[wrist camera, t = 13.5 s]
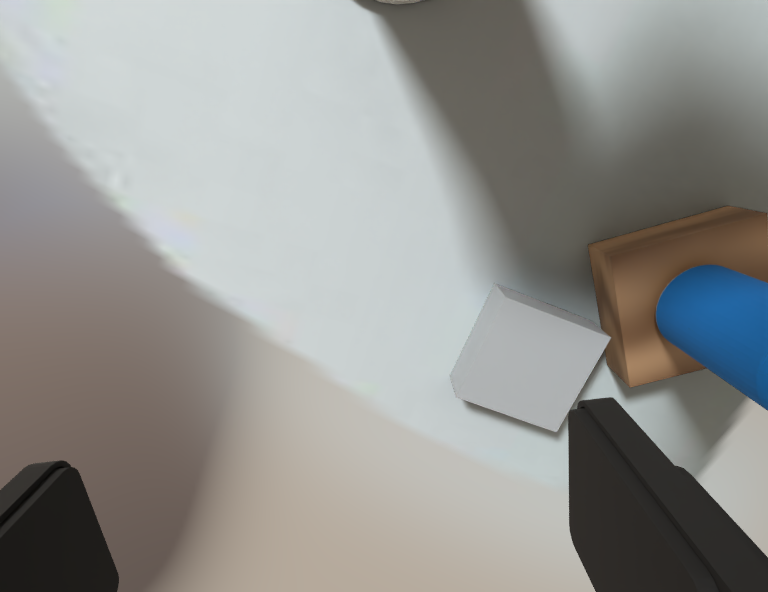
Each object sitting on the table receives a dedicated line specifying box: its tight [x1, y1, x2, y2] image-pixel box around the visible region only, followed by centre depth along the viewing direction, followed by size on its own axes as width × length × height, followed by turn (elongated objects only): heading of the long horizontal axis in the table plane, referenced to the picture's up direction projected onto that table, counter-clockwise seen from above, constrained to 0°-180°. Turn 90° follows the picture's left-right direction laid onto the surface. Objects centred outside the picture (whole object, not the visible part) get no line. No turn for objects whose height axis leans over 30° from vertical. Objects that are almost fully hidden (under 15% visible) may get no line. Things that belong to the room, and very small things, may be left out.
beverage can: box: [656, 265, 768, 410], centre depth 30 cm, size 6×6×12 cm
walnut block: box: [588, 206, 768, 387], centre depth 38 cm, size 11×11×4 cm
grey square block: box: [450, 283, 611, 432], centre depth 40 cm, size 9×9×4 cm
